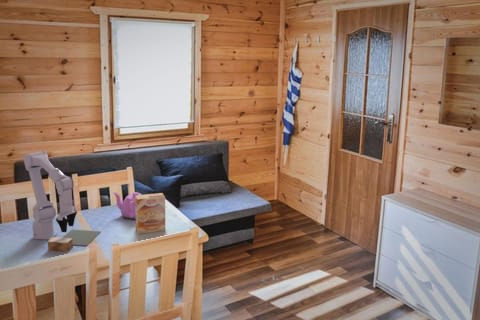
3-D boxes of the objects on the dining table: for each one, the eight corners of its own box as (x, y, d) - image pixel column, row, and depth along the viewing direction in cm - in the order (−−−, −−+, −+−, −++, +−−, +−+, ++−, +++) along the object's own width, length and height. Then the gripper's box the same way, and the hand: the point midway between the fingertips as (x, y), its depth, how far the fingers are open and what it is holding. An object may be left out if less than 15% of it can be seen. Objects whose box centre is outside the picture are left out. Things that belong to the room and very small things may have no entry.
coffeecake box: (137, 234, 248) (136, 199, 243) (135, 229, 254) (134, 195, 249) (165, 230, 253) (165, 196, 249) (162, 226, 260) (162, 192, 255)
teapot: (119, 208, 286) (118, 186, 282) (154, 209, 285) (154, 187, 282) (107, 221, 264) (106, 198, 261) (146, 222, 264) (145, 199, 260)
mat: (55, 244, 233) (55, 243, 233) (72, 230, 251) (71, 229, 251) (86, 246, 232) (86, 245, 232) (100, 232, 249) (100, 231, 249)
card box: (48, 250, 226) (47, 241, 225) (53, 246, 231) (52, 237, 230) (68, 252, 225) (67, 242, 224) (72, 247, 230) (72, 238, 229)
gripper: (67, 207, 217) (69, 235, 221) (80, 198, 232) (81, 223, 235) (52, 207, 218) (54, 234, 221) (66, 197, 232) (68, 223, 235)
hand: (67, 228), depth 228 cm, fingers open, 7 cm apart
